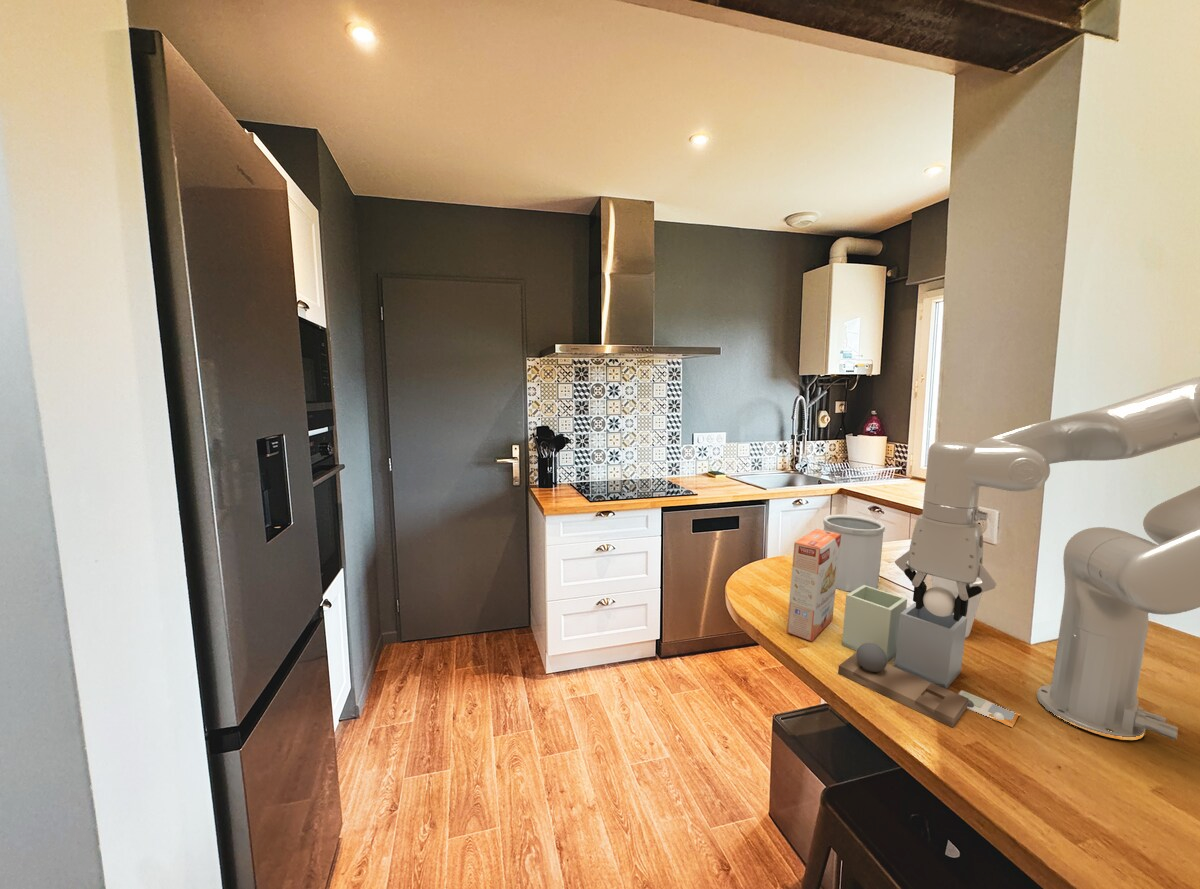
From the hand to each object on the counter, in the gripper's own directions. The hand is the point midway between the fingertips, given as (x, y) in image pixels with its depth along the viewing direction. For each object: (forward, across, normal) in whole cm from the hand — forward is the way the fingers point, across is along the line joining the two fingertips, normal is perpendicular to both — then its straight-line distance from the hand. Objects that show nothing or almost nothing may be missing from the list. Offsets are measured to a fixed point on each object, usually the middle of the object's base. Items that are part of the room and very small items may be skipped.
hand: (938, 611), depth 85 cm
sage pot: (+14, +12, -6) cm, 19 cm away
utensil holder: (+14, +28, -36) cm, 48 cm away
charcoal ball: (+10, +8, +6) cm, 15 cm away
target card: (+14, -8, 0) cm, 16 cm away
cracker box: (+14, +24, -4) cm, 28 cm away
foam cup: (+14, +3, -27) cm, 31 cm away
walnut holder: (+14, +3, +6) cm, 16 cm away
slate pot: (+14, +2, -5) cm, 15 cm away
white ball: (-2, 0, 0) cm, 2 cm away
